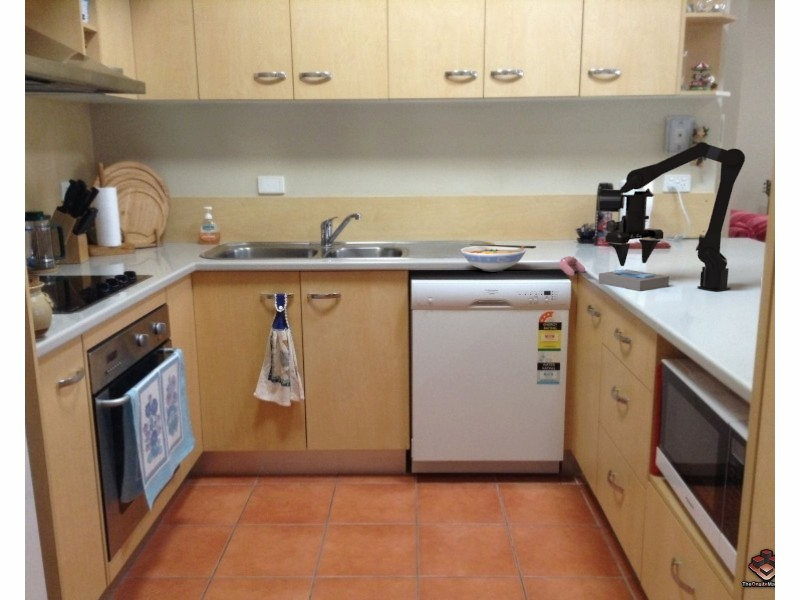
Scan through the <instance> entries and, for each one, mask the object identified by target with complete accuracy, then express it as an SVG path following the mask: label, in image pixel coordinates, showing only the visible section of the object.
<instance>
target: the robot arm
mask: <svg viewBox="0 0 800 600" xmlns="http://www.w3.org/2000/svg"><path fill="white" fill-rule="evenodd" d="M700 158H705V159H709V160H712V161H715V162H718V163H720V176H719V184H718V188H717V193H716V196H715V199H714V203H713V207H712V208H713V209H712V212H711V214H710V219H709V223H708V226H707V230H706V232H705V234H704V235H703V234H699V235H698V244H697V245H696V247H695V251H696V252H697V258H698V259H699V261H700V262H702V263H703V264H704V266H702V267H701V271H700V276H699V277H700V279H699V285H697V287H696V288H697V289H700V290H705V291H706V290H707V291H711V292H721V291H726V290H727V291H728V290H731V287H730V286H728V281H729V270H730V269H729V268H728V267H727V266H728V259H727V257H726V256H725V255H723V254H722V253H721V244H722V243H721V242H722V230H723V226H724V224H725V223H724V222H725V219H726V217H727V212H728V208H729V204H730V201H731V200H730V199H731V196H732V193H733V189H734V185H735V183H736V180H737V178H738V176H739V174H740V172H741V170H742V169H743V168H742V167H743V165H744V164H745V161H746V155H745V153H744V152H743V151H742V150H741V149H739V148H730V149H728V150H727V149H726V148H725V149H724V148H721V147H717V146H715V145H711V144H708V143H707V142H705V141H700V142H698V143H696V144H695V145H694V146H692V147H689V148H687V149H685V150H682V151H681V152H678V153H676V154H673V155H672V156H670V157H667V158H665V159H664V160H661V161H659V162H657V163H653V164H650V165H646V166H643V167H639V168H636V169H632V170H631V171H629V172H628V173H627V175H626V179H625V180H626V181H625V183H624V184H623V185H622V186H621V187H620V188H619V189H608V188H603V189H601V193H600V198H599V202H598V204H599V205H598V207H599V212H601V213H620V212H621V210H622V209H623V210H624V208H625V215H622V216H621V220H620V221H616V220H614V219H611V220H607V221H606V223H605V224H606V225H605V229H606V231H607V233H606V234H605V236H604V237H605V238H604V239H605V240H604V242H605V243H608V245H610V246H611V247H613V248H614V250H615V254H616V256H617V258H618V259H617V260H618V263H619V266H620V267H625V264H626V262H627V257H628V253H629V249H630V243H629V242H630V240H637V239H638V242H640V244H641V263H642V264H646V263H648V260H649V259H650V257H651V254H652V253H653V251H654V250H655V248H656V246H658V243H660V242H661V240H663V239H664V234H665V233H664V231H663V230H662V229H661V228H660V229H659V228H646V221H647V220H649V219H650V215H647V201H648V198H653V197H654V196H655V194H654V192H652V191H651V189H650V188H647V189H645V190H641V189H642V188H645V187H646V186H647V185H649V184H650V183H652V182H654V181H655V180H657V178H659V177H661V176H662V175H664V174H667V173H668V172H671V171H673V170H675V169H677V168H680V167H681V166H684V165H687V164H689V163H692V161H695V160H697V159H700ZM632 190H635V191H634V193H633V194H626V193H630V192H631V191H632ZM625 198H626V199H625ZM625 201H626V202H625Z"/></svg>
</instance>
